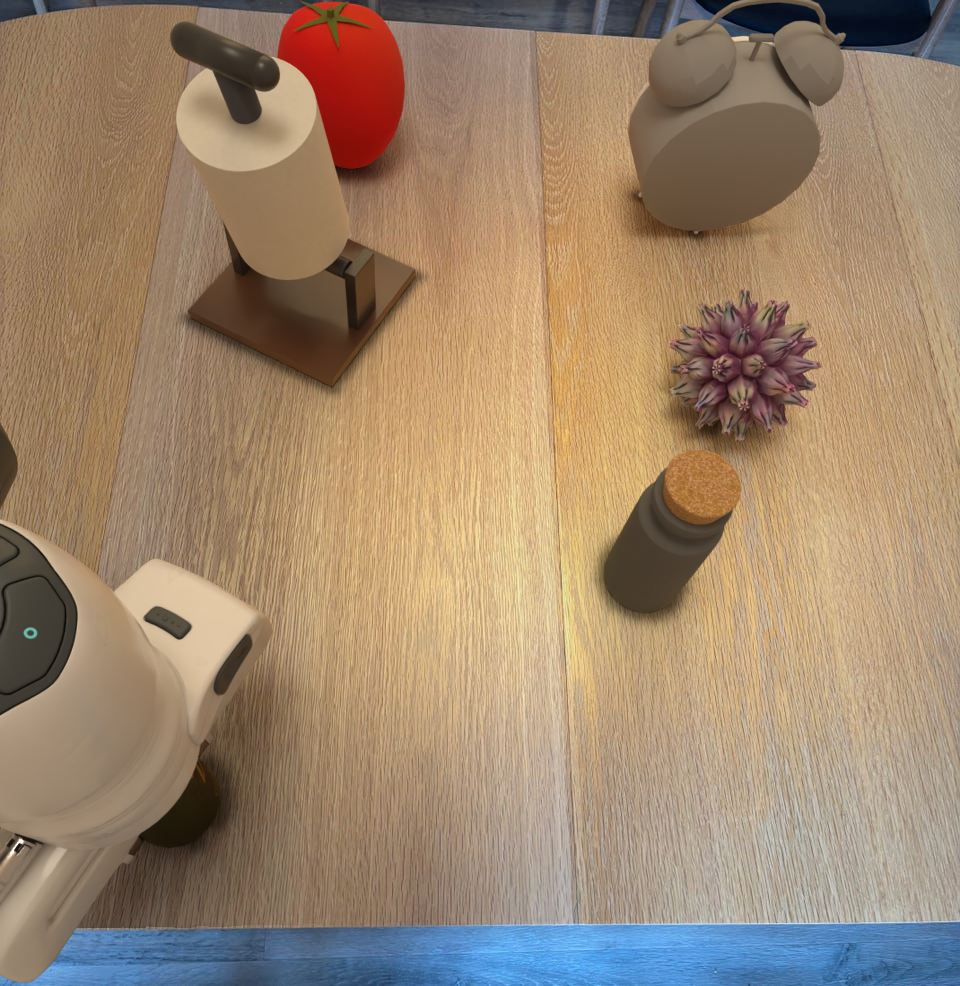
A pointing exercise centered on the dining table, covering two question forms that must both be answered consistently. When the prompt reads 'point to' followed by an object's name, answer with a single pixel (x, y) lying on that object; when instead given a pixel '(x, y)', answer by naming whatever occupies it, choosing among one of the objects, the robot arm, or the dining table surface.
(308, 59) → the tomato
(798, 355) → the flower
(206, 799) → the beer can
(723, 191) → the alarm clock
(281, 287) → the holder base
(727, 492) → the bottle
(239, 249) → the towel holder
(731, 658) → the dining table surface
